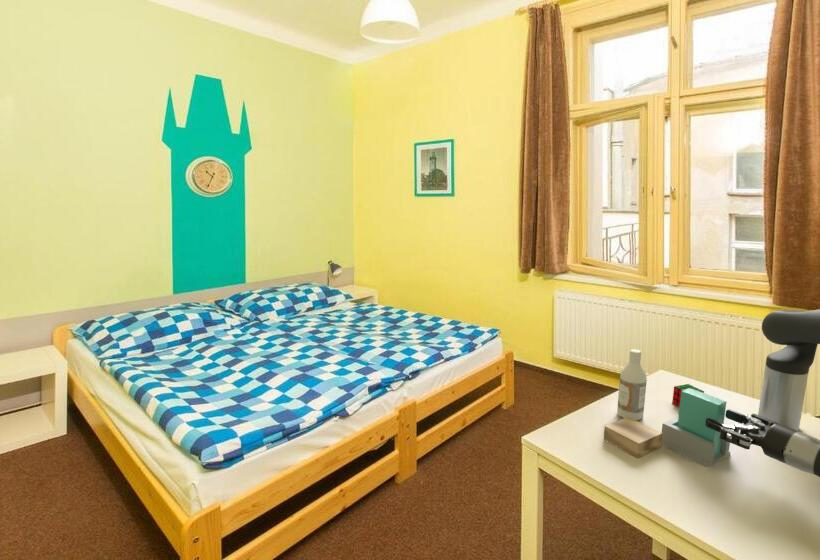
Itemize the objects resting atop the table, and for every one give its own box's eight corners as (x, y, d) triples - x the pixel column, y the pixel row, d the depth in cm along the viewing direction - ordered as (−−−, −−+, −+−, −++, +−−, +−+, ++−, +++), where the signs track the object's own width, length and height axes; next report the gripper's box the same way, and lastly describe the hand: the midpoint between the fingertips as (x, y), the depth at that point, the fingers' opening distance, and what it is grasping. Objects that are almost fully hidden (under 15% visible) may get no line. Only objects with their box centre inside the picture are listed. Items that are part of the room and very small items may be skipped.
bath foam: (611, 411, 142) (617, 348, 138) (631, 408, 144) (636, 345, 140) (628, 422, 135) (634, 356, 131) (648, 419, 137) (654, 353, 133)
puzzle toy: (671, 403, 147) (673, 386, 145) (686, 400, 148) (688, 383, 147) (687, 411, 141) (689, 394, 140) (702, 408, 143) (704, 391, 142)
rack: (679, 432, 130) (681, 413, 129) (730, 455, 119) (732, 435, 118) (656, 442, 125) (658, 423, 124) (707, 467, 114) (710, 446, 113)
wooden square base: (626, 430, 131) (627, 416, 130) (660, 447, 123) (662, 433, 122) (603, 439, 127) (604, 425, 126) (637, 458, 118) (638, 443, 117)
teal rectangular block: (683, 437, 125) (689, 387, 123) (719, 453, 118) (726, 401, 115) (675, 440, 124) (681, 390, 121) (711, 457, 116) (718, 404, 113)
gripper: (813, 424, 104) (734, 396, 118) (781, 442, 98) (701, 410, 111) (808, 455, 106) (730, 423, 120) (776, 474, 99) (697, 439, 113)
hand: (716, 417), depth 116 cm, fingers open, 8 cm apart
